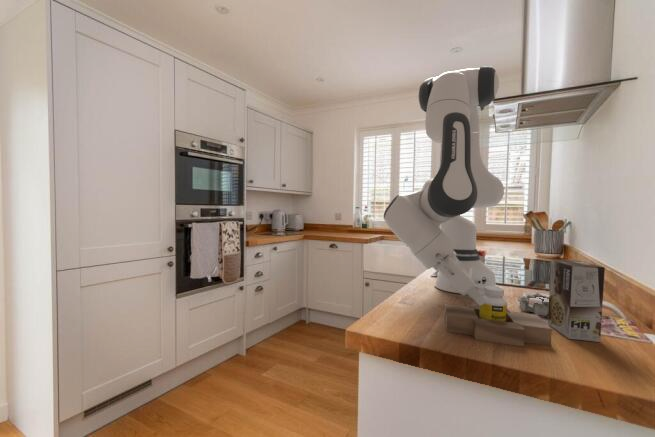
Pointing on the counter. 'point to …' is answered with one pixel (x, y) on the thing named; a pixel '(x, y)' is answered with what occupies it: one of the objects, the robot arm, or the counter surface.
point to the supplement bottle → (493, 304)
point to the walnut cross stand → (497, 326)
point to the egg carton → (536, 308)
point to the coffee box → (576, 299)
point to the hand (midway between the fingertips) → (479, 296)
